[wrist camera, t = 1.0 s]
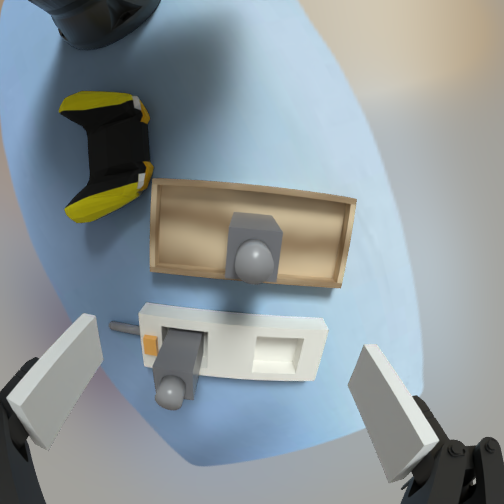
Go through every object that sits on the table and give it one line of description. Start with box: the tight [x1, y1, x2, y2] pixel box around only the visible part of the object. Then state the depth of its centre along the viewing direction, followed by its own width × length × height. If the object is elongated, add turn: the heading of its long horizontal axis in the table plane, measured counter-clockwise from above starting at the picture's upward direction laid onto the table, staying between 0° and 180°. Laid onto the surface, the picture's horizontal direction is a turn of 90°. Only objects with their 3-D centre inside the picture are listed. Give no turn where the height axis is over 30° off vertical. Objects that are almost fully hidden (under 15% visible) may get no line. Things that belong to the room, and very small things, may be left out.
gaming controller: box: [59, 91, 154, 223], centre depth 25 cm, size 15×6×10 cm
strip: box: [109, 302, 329, 381], centre depth 32 cm, size 8×28×4 cm, turn 84°
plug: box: [225, 212, 283, 284], centre depth 24 cm, size 4×4×12 cm
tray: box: [150, 178, 357, 288], centre depth 29 cm, size 10×21×2 cm, turn 84°
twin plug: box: [152, 327, 204, 410], centre depth 27 cm, size 4×4×12 cm
